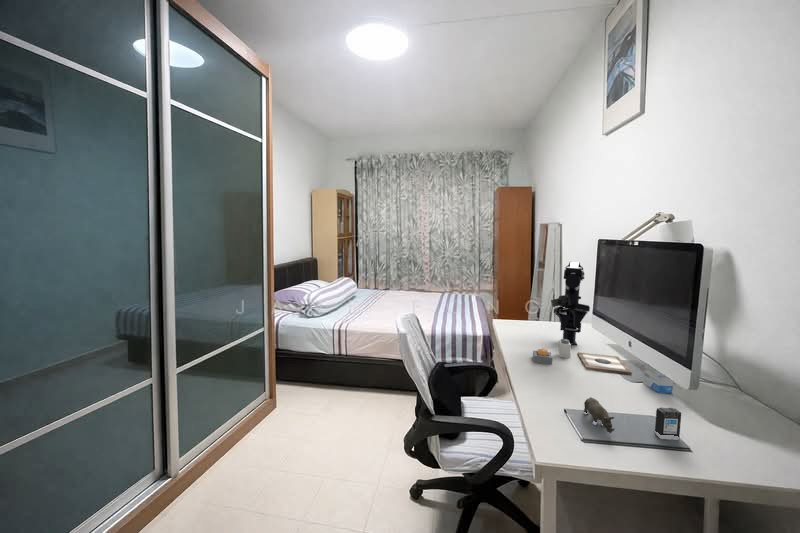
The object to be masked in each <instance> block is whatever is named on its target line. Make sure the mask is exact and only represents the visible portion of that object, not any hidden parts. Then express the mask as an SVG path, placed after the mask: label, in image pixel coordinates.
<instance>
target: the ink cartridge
mask: <svg viewBox="0 0 800 533" xmlns="http://www.w3.org/2000/svg"><path fill="white" fill-rule="evenodd" d="M681 422H682V412H681V411H679V410H678V409H676V408H673V407H657V408H656V411H655V426H654V432H655V431H656V432H658V433H659V434H660V435H674V436H678V437H679V438H680V436H681V435H680V433H681Z"/></svg>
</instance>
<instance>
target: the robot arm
mask: <svg viewBox="0 0 800 533" xmlns="http://www.w3.org/2000/svg"><path fill="white" fill-rule="evenodd" d="M563 272H564V273H563V280H565V281H564V284H565V286H564V287H565V288H564V294H563V295H559V296H558V298H554V299H551V300H550V303H551V306H552V308H554V309H553V314H554V315H555V316H557V317H558V319H559V322H560V328H559V330H560V331H562V339H567V340H569V342H570V344H571V346H572V345H574V346H577V345H578V343H577V341H576V339H577V337H576V336H577V333H581V332H582V331H581V329H582V323H581V322H582V321H583V319H584V318H585V317H586V315H587V314H588V312H590V310H591V307H590V305H589V304H587V303H582V302H579V300H581V299H582V296H580V287H581V282H582V281H583V280H585V271H584V267H583V266H582V265H581V262H579V261H568V265H566V266H565V267H564V271H563Z"/></svg>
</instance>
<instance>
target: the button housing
mask: <svg viewBox="0 0 800 533" xmlns="http://www.w3.org/2000/svg"><path fill="white" fill-rule="evenodd" d="M537 354H538V350H532V359H533V363H535V364H543V365H550V366H551V365H553V355H552V352H551V351H548V356H541V355H537Z"/></svg>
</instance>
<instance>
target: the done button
mask: <svg viewBox="0 0 800 533" xmlns="http://www.w3.org/2000/svg"><path fill="white" fill-rule="evenodd" d="M537 351H538V354H537V355H541V356H548V352H549V351H548V350H547V349H544V348H538V349H537Z"/></svg>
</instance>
